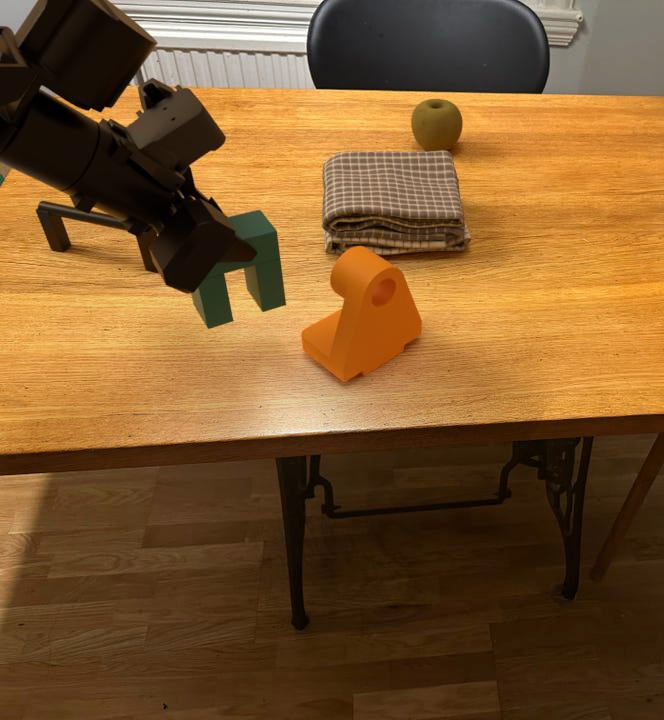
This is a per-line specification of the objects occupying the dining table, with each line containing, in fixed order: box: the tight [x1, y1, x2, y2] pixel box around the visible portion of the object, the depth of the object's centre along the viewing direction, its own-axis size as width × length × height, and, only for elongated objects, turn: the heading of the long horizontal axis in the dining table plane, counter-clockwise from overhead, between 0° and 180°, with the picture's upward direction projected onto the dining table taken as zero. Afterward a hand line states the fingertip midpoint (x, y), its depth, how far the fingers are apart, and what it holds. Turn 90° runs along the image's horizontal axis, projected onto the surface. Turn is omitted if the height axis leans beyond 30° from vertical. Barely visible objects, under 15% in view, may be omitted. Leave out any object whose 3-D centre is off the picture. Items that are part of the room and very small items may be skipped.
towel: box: [321, 150, 472, 257], centre depth 89 cm, size 15×18×8 cm
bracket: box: [300, 246, 423, 383], centre depth 70 cm, size 11×7×12 cm, turn 138°
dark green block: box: [190, 209, 287, 330], centre depth 64 cm, size 8×4×8 cm, turn 125°
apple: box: [410, 98, 464, 152], centre depth 106 cm, size 8×8×7 cm
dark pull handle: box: [35, 200, 159, 274], centre depth 79 cm, size 2×14×6 cm, turn 78°
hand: (245, 244), depth 63 cm, fingers closed on dark green block, 4 cm apart
